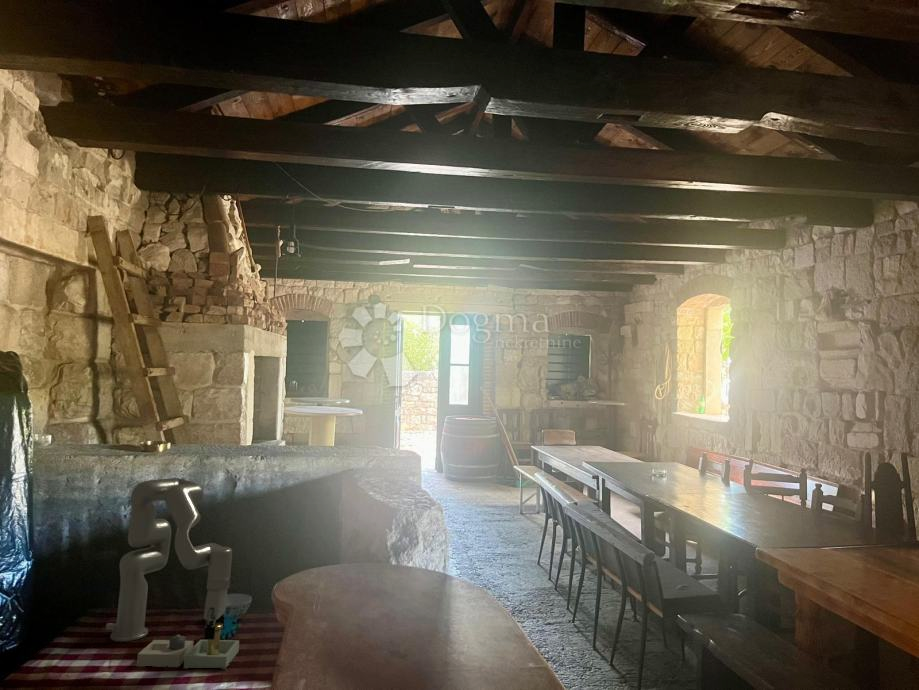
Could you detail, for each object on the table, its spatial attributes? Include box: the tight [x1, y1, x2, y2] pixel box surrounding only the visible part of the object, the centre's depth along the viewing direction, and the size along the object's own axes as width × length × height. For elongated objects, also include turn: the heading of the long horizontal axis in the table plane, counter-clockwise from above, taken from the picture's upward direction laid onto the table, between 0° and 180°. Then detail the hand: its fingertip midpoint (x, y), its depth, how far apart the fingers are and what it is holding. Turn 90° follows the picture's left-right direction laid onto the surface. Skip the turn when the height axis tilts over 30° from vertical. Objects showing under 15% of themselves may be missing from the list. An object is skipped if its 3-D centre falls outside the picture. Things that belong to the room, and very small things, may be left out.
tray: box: [183, 639, 240, 670], centre depth 204 cm, size 14×14×4 cm
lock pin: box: [207, 623, 223, 655], centre depth 204 cm, size 5×5×11 cm
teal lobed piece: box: [220, 613, 242, 640], centre depth 226 cm, size 11×6×10 cm
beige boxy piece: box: [136, 634, 194, 668], centre depth 203 cm, size 14×12×8 cm
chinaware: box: [223, 593, 253, 620], centre depth 243 cm, size 15×15×8 cm
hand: (214, 633), depth 204 cm, fingers open, 9 cm apart
